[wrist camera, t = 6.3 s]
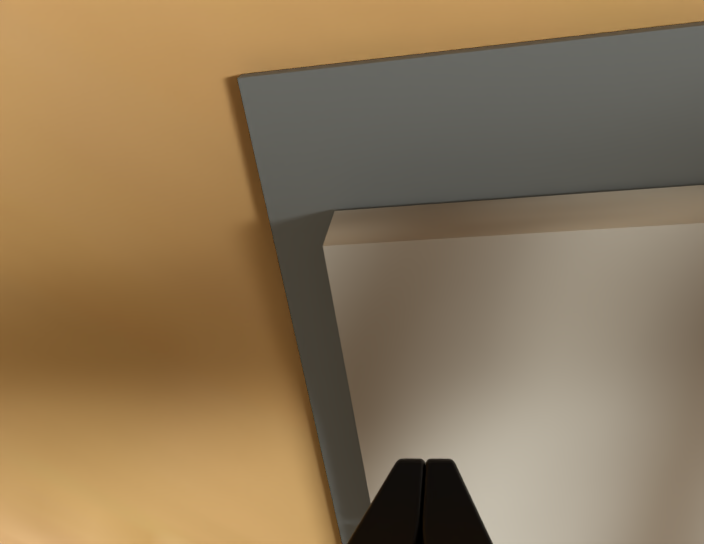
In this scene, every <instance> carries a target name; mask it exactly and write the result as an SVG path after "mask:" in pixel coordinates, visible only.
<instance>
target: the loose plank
mask: <svg viewBox="0 0 704 544" xmlns="http://www.w3.org/2000/svg"><path fill="white" fill-rule="evenodd" d="M323 250H324V256H325V261H326V266H327V272H328V277H329V282H330V288H331V293H332V299H333V304H334V309H335V315H336V320H337V325H338V331H339V336H340V341H341V347H342V352H343V358H344V363H345V368H346V374H347V379H348V384H349V390H350V395H351V401H352V406H353V411H354V417H355V422H356V427H357V433H358V438H359V443H360V449H361V454H362V460H363V465H364V470H365V476H366V481H367V486H368V492H369V497H370V503H372V501H373V499H374V498H375V496H376V494H377V493H378V491H379V489H380V488H381V486H382V484H383V483H384V481H385V479H386V478H387V476H388V474H389V473H390V471H391V469H392V468H393V466H394V464H395V463H396V461H397V460H399V459H402V458H420V459H423V460H424V461H425V463H426V461H427V460H428V459H431V458H443V459H452V460H453V461H454V462H455V464H456V466H457V468H458V470H459V472H460V474H461V476H462V478H463V481H464V483H465V485H466V487H467V489H468V491H469V493H470V495H471V498H472V500H473V502H474V504H475V506H476V508H477V510H478V513H479V515H480V517H481V519H482V521H483V523H484V525H485V528H486V530H487V532H488V534H489V536H490V538H491V540H492V543H493V544H704V185H695V186H681V187H666V188H652V189H638V190H624V191H610V192H596V193H582V194H568V195H554V196H539V197H525V198H511V199H497V200H483V201H469V202H455V203H441V204H426V205H412V206H398V207H384V208H370V209H356V210H342V211H335V212H334V214H333V217H332V220H331V223H330V226H329V229H328V232H327V235H326V238H325V241H324V244H323Z"/></svg>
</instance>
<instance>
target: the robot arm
mask: <svg viewBox="0 0 704 544" xmlns="http://www.w3.org/2000/svg"><path fill="white" fill-rule="evenodd" d="M347 544H493V543H492V540H491V538H490V536H489V534H488V532H487V530H486V528H485V525H484V523H483V521H482V519H481V517H480V515H479V513H478V510H477V508H476V506H475V504H474V502H473V500H472V498H471V495H470V493H469V491H468V489H467V487H466V485H465V483H464V481H463V478H462V476H461V474H460V472H459V470H458V468H457V466H456V464H455V462H454V461H453V460H452V459H443V458H431V459H428V460H427V461H426V463H425V461H424V460H423V459H420V458H402V459H399V460H397V461H396V463H395V464H394V466H393V468H392V469H391V471H390V473H389V474H388V476H387V478H386V479H385V481H384V483H383V484H382V486H381V488H380V489H379V491H378V493H377V494H376V496H375V498H374V499H373V501H372V503H371V504H370V506H369V508H368V509H367V511H366V513H365V514H364V516H363V518H362V519H361V521H360V523H359V524H358V526H357V528H356V529H355V531H354V533H353V534H352V536H351V538H350V539H349V541H348V543H347Z"/></svg>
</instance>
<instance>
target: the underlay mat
mask: <svg viewBox="0 0 704 544" xmlns="http://www.w3.org/2000/svg"><path fill="white" fill-rule="evenodd" d="M237 79H238V84H239V88H240V93H241V97H242V102H243V106H244V110H245V115H246V119H247V124H248V128H249V133H250V137H251V141H252V146H253V150H254V155H255V159H256V164H257V168H258V172H259V177H260V181H261V186H262V190H263V195H264V199H265V203H266V208H267V212H268V217H269V221H270V226H271V230H272V235H273V239H274V243H275V248H276V252H277V257H278V261H279V266H280V270H281V274H282V279H283V283H284V288H285V292H286V297H287V301H288V305H289V310H290V314H291V319H292V323H293V328H294V332H295V336H296V341H297V345H298V350H299V354H300V359H301V363H302V367H303V372H304V376H305V381H306V385H307V390H308V394H309V398H310V403H311V407H312V412H313V416H314V421H315V425H316V429H317V434H318V438H319V443H320V447H321V452H322V456H323V460H324V465H325V469H326V474H327V478H328V483H329V487H330V491H331V496H332V500H333V505H334V509H335V514H336V518H337V522H338V527H339V531H340V536H341V540H342V544H347V543H348V541H349V539H350V538H351V536H352V534H353V533H354V531H355V529H356V528H357V526H358V524H359V523H360V521H361V519H362V518H363V516H364V514H365V513H366V511H367V509H368V508H369V506H370V504H371V503H370V497H369V492H368V486H367V481H366V476H365V470H364V465H363V460H362V454H361V449H360V443H359V438H358V433H357V427H356V422H355V417H354V411H353V406H352V401H351V395H350V390H349V384H348V379H347V374H346V368H345V363H344V358H343V352H342V347H341V341H340V336H339V331H338V325H337V320H336V315H335V309H334V304H333V299H332V293H331V288H330V282H329V277H328V272H327V266H326V261H325V256H324V250H323V244H324V241H325V238H326V235H327V232H328V229H329V226H330V223H331V220H332V217H333V214H334V212H335V211H342V210H356V209H370V208H384V207H398V206H412V205H426V204H441V203H455V202H469V201H483V200H497V199H511V198H525V197H539V196H554V195H568V194H582V193H596V192H610V191H624V190H638V189H652V188H666V187H681V186H695V185H704V22H695V23H686V24H677V25H669V26H660V27H651V28H642V29H634V30H625V31H616V32H608V33H599V34H590V35H581V36H573V37H564V38H555V39H546V40H538V41H529V42H520V43H512V44H503V45H494V46H485V47H477V48H468V49H459V50H450V51H442V52H433V53H424V54H415V55H407V56H398V57H389V58H381V59H372V60H363V61H354V62H346V63H337V64H328V65H319V66H311V67H302V68H293V69H284V70H276V71H267V72H258V73H250V74H241V75H240V76H239V77H238V78H237Z"/></svg>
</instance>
